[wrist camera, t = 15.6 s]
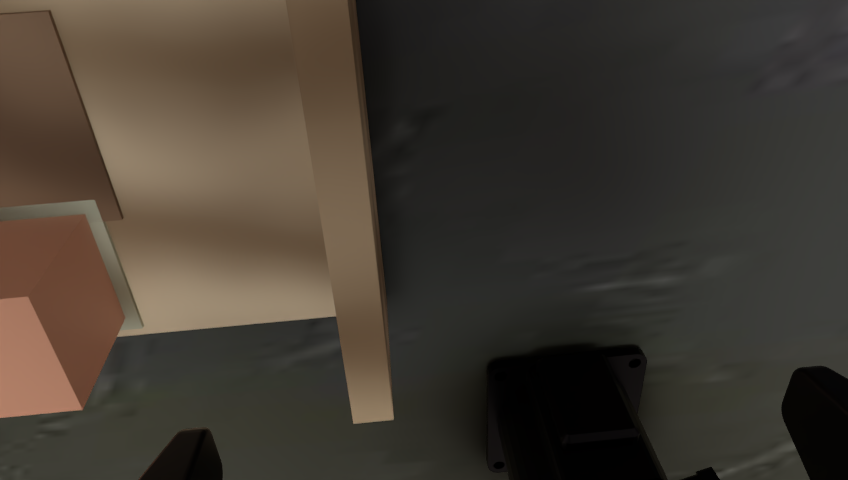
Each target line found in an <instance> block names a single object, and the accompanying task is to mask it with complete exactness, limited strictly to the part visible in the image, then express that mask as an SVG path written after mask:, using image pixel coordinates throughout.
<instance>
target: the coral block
mask: <svg viewBox="0 0 848 480" xmlns="http://www.w3.org/2000/svg"><path fill="white" fill-rule="evenodd" d="M124 320H125V315H124V313H123V310H122V308H121V305H120V303H119V300H118V297H117V295H116V292H115V290H114V287H113V285H112V282H111V280H110V277H109V274H108V272H107V269H106V267H105V264H104V262H103V259H102V256H101V254H100V251H99V249H98V246H97V244H96V241H95V238H94V236H93V233H92V231H91V228H90V226H89V223H88V220H87V218H86V215H85V214H81V215H69V216H57V217H46V218H34V219H22V220H10V221H0V418H4V417H14V416H24V415H34V414H44V413H55V412H65V411H75V410H83V408H84V406H85V404H86V401H87V399H88V397H89V395H90V393H91V391H92V389H93V387H94V384H95V382H96V380H97V378H98V376H99V374H100V372H101V369H102V367H103V365H104V363H105V361H106V359H107V357H108V354H109V352H110V350H111V348H112V346H113V344H114V342H115V339H116V337H117V335H118V333H119V331H120V329H121V327H122V324H123V322H124Z"/></svg>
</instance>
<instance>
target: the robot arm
mask: <svg viewBox="0 0 848 480" xmlns="http://www.w3.org/2000/svg"><path fill="white" fill-rule="evenodd" d="M633 359H635V360H633ZM631 360H633V361H631ZM646 364H647V359H646V357H645V355H644V353H643V351H642V350H641V349H639V348H623V349H612V350H602V351H592V352H582V353H572V354H561V355H551V356H541V357H531V358H520V359H510V360H500V361H495V362H493V363H491V364H490V365H489V366H488V368H487V464H488V468H489V470H490V471H492V472H508V475H509V480H668V479H667V477H666V475H665V472H664V470H663V468H662V466H661V464H660V462H659V460H658V458H657V455H656V453H655V451H654V449H653V447H652V445H651V443H650V441H649V438H648V436H647V434H646V432H645V430H644V428H643V426H642V424H641V421H640V419H639V417H638V415H637V413H638V407H639V402H640V397H641V391H642V386H643V380H644V375H645V370H646ZM499 372H503V373H501V374H497V373H499ZM781 410H782V416H783V419H784V422H785V424H786V427H787V429H788V431H789V433H790V436H791V438H792V440H793V442H794V444H795V447H796V449H797V451H798V453H799V456H800V458H801V460H802V462H803V465H804V467H805V469H806V471H807V474H808V476H809V478H810V480H848V379H847V378H845V377H844V376H842V375H840V374H838V373H837V372H835V371H833V370H831V369H829V368H827V367H824V366H812V367H802V368H798V369H796V370H795V371H794V372H793V374H792V376H791V379H790V382H789V385H788V388H787V390H786V393H785V396H784V399H783V402H782V409H781ZM222 478H223V470H222V463H221V459H220V456H219V453H218V450H217V448H216V445H215V442H214V439H213V436H212V433H211V431H210V430H209V429H208V428H205V427H201V428H191V429H183V430H181V431H179V432H178V433H177V434H176V435H175V436H174V438H173V439H172V440H171V441H170V442H169V444H168V445H167V446H166V447H165V448H164V450H163V451H162V452H161V453H160V454H159V455H158V457H157V458H156V459H155V460H154V461H153V463H152V464H151V465H150V466H149V467H148V469H147V470H146V471H145V472H144V473H143V475H142V476H141V477H140V478H139V479H138V480H222ZM681 480H720V479H719V478H718V476H717V475H716V473H715V471H714V470H713V468H712V467H709V468H706V469H703V470H700V471H697V472H696V475H693V476H690V477H687V478H684V479H681Z"/></svg>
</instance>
